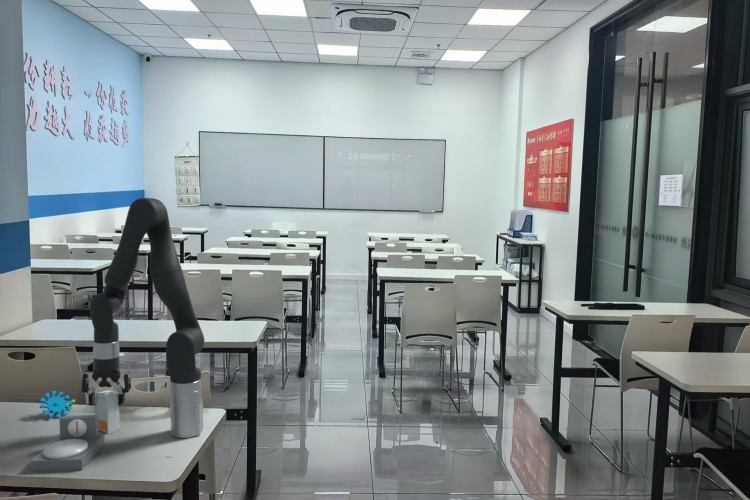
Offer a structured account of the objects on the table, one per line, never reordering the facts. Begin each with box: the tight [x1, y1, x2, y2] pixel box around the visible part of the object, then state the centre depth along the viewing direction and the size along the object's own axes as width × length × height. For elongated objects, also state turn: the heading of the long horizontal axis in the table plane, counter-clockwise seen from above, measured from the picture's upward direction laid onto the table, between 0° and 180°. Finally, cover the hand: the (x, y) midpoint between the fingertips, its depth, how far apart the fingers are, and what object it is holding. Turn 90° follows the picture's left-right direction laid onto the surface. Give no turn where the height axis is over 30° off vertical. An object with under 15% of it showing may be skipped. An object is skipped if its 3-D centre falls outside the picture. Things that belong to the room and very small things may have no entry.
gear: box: [39, 390, 76, 419], centre depth 195 cm, size 11×6×10 cm
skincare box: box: [95, 389, 121, 435], centre depth 182 cm, size 6×4×12 cm
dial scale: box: [30, 414, 106, 473], centre depth 162 cm, size 13×17×9 cm
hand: (106, 404), depth 182 cm, fingers open, 8 cm apart
